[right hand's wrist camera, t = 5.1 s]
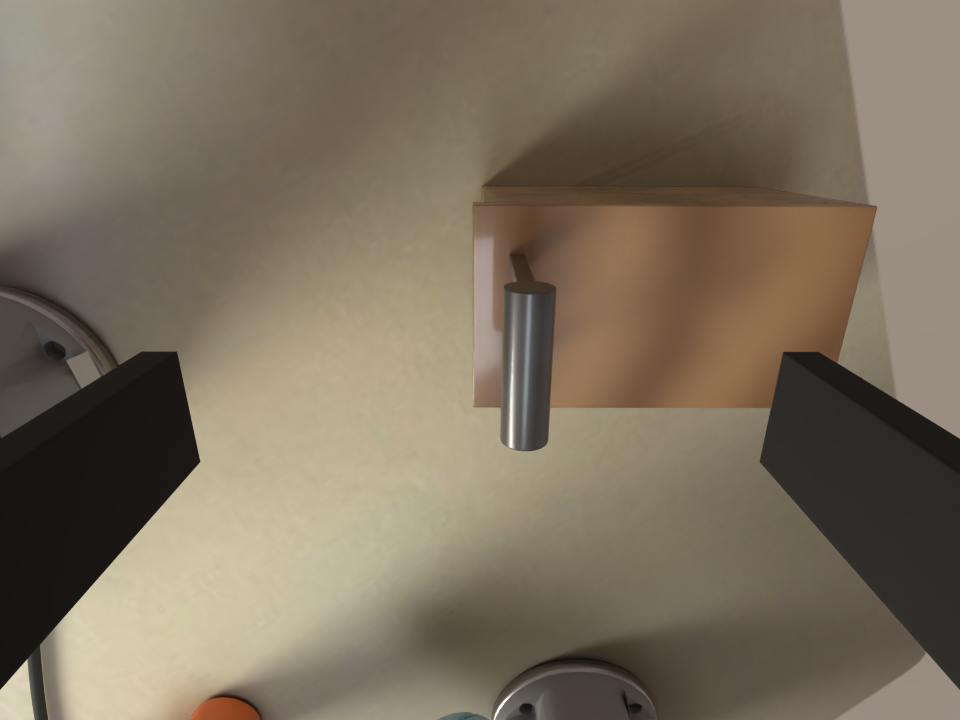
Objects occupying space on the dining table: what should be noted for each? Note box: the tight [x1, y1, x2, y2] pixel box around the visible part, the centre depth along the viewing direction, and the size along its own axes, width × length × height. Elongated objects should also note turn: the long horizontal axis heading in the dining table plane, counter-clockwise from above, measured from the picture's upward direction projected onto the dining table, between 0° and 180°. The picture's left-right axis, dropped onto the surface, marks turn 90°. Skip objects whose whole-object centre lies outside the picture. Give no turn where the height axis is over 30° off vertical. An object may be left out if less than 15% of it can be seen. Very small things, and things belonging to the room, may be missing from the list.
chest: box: [482, 186, 853, 203], centre depth 32 cm, size 17×10×10 cm, turn 90°
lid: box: [473, 202, 877, 451], centre depth 23 cm, size 18×10×9 cm, turn 90°
